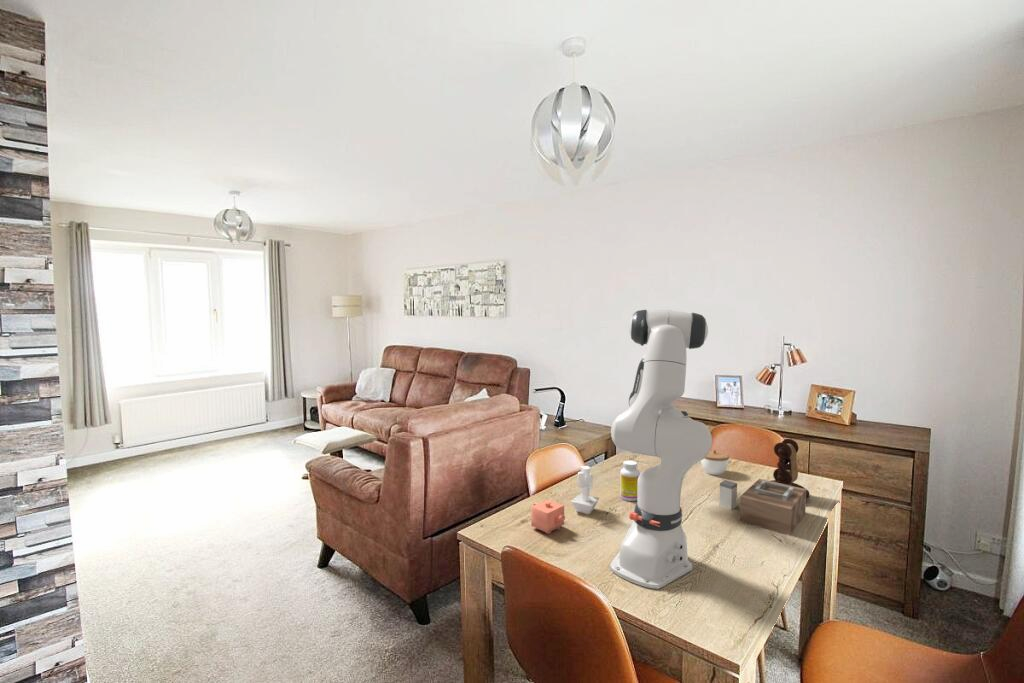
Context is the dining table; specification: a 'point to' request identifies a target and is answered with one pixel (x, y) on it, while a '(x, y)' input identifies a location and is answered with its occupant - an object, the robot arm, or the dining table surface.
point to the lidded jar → (715, 462)
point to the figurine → (585, 492)
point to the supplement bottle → (629, 481)
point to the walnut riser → (773, 506)
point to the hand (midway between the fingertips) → (694, 452)
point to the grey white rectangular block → (728, 494)
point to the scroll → (787, 471)
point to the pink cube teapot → (547, 516)
